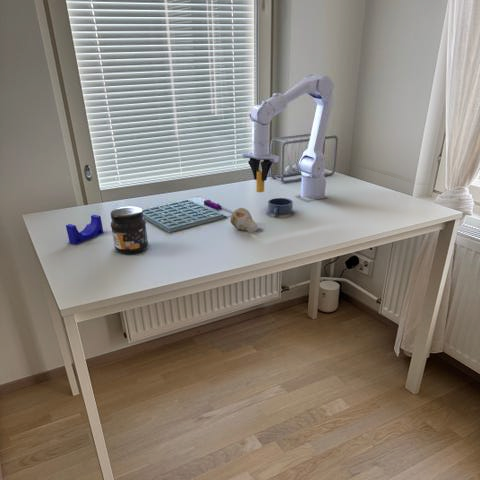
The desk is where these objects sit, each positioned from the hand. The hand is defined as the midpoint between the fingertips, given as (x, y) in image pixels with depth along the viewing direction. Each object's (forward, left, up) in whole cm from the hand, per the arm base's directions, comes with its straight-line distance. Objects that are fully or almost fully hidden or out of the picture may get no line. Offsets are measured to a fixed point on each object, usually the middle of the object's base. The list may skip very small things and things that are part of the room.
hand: (260, 179), depth 172 cm
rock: (+16, +20, -11) cm, 28 cm away
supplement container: (+55, +16, -11) cm, 59 cm away
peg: (0, 0, -4) cm, 4 cm away
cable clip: (+66, -1, -11) cm, 67 cm away
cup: (-2, +12, -10) cm, 16 cm away
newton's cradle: (-39, -29, -11) cm, 50 cm away
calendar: (+28, -7, -11) cm, 31 cm away
